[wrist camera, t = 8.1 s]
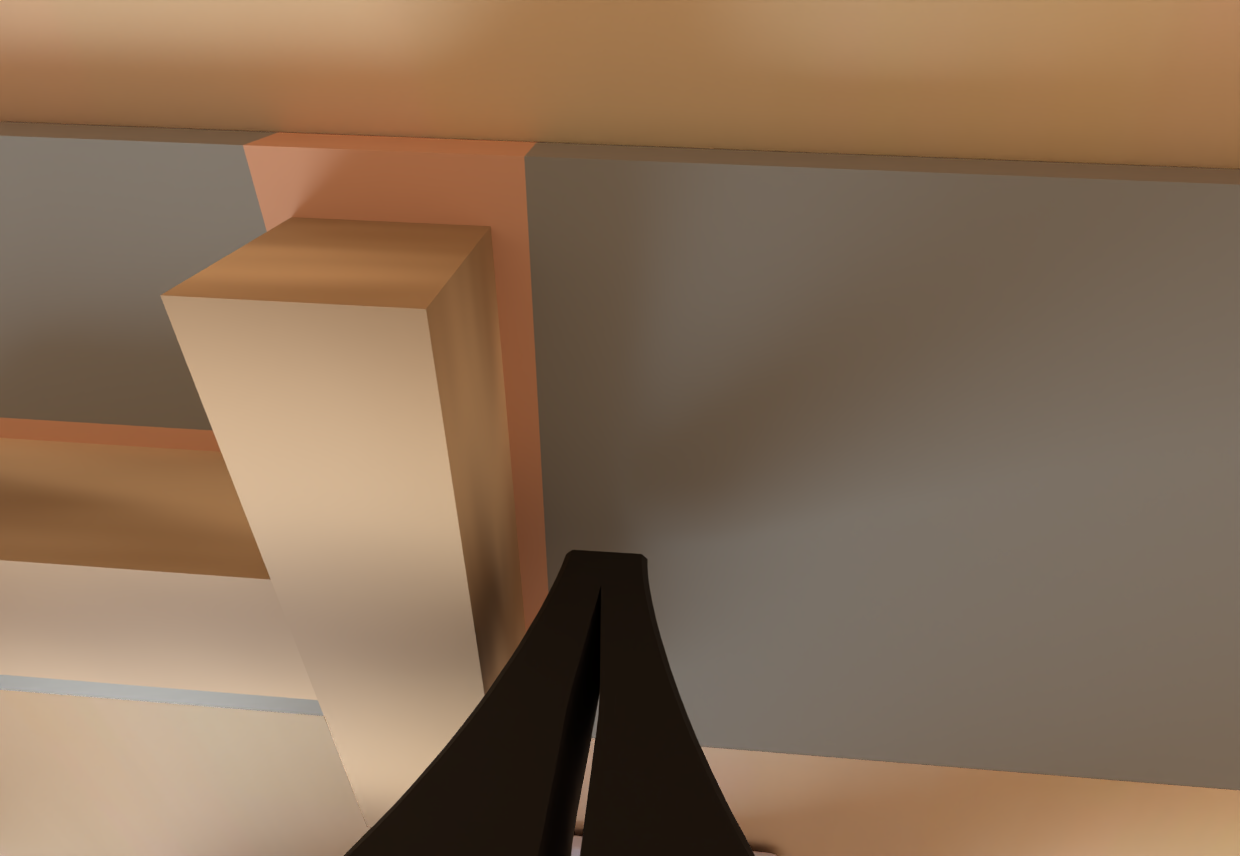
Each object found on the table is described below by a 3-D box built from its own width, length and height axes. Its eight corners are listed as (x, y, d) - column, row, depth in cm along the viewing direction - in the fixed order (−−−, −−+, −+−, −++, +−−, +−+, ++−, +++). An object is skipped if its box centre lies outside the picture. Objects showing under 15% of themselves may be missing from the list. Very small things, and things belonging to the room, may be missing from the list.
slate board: (1218, 751, 17) (1246, 790, 16) (29, 658, 18) (-1, 689, 18) (1754, 188, 9) (1863, 209, 8) (-386, 106, 11) (-476, 116, 10)
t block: (532, 709, 16) (506, 839, 14) (107, 675, 17) (8, 794, 14) (491, 226, 10) (426, 308, 7) (-213, 194, 10) (-500, 261, 8)
